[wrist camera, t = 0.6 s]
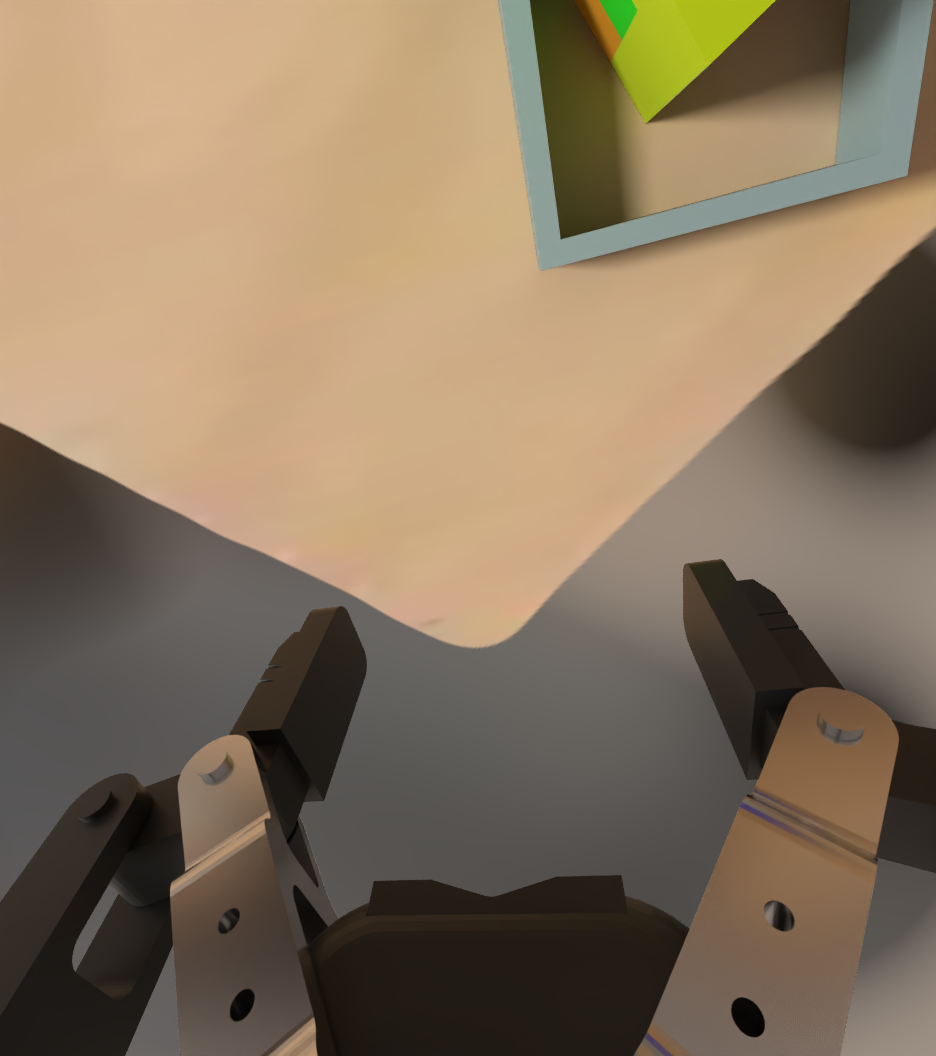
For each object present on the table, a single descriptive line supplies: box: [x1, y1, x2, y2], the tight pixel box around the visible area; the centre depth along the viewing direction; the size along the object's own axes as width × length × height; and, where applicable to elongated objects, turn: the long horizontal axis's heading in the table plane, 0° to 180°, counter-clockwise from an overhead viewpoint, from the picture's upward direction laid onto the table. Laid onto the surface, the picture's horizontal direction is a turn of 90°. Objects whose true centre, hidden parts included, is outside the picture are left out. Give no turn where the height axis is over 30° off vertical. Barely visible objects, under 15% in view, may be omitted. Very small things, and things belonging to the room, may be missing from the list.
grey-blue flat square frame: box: [498, 0, 934, 271], centre depth 23 cm, size 18×17×4 cm
